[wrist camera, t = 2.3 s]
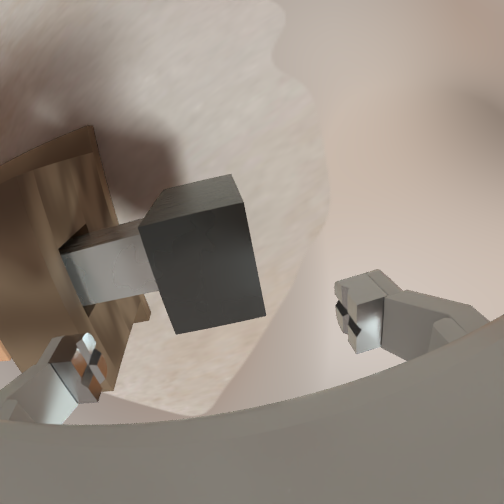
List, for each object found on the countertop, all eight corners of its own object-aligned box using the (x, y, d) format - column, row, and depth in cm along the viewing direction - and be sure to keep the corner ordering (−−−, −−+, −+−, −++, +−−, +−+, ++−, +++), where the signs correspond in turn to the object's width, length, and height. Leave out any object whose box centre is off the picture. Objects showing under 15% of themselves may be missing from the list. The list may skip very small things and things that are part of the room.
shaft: (-20, 250, 17) (-73, 294, 10) (231, 173, 17) (243, 202, 11) (5, 306, 19) (-37, 359, 12) (247, 252, 19) (266, 315, 13)
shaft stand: (-34, 187, 18) (-114, 227, 8) (92, 125, 19) (6, 132, 9) (26, 333, 25) (-19, 408, 15) (151, 312, 25) (128, 412, 15)
